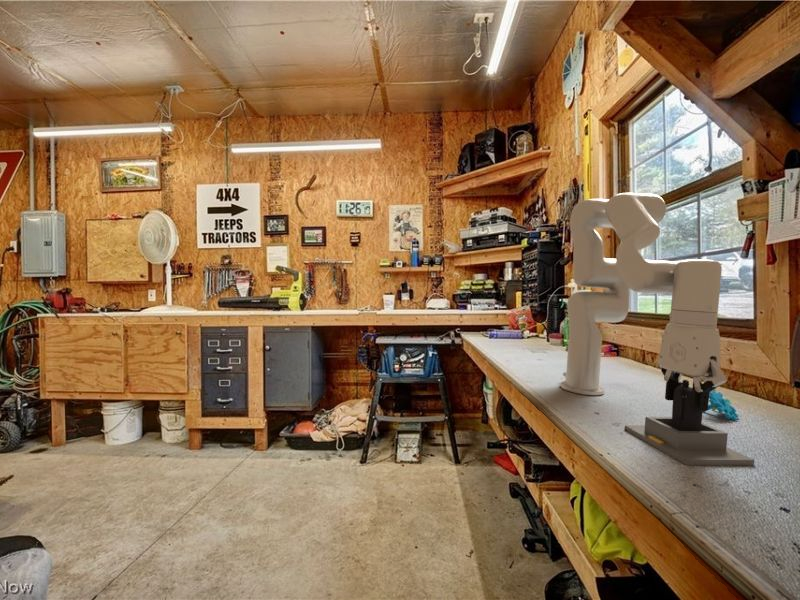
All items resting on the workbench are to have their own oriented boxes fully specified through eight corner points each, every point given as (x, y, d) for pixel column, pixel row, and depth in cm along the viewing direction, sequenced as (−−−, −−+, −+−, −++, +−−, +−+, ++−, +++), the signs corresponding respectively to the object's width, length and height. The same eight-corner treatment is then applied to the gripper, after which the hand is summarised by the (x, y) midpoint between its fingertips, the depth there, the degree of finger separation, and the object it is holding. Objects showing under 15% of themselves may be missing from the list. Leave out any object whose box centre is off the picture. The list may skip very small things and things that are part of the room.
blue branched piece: (731, 418, 88) (700, 382, 94) (707, 428, 92) (680, 393, 98) (748, 418, 93) (719, 384, 99) (726, 427, 97) (698, 394, 103)
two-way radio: (704, 440, 72) (711, 367, 71) (686, 440, 71) (692, 367, 71) (679, 428, 78) (685, 361, 77) (661, 428, 77) (667, 361, 76)
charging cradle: (624, 429, 82) (625, 410, 82) (680, 430, 83) (681, 411, 83) (685, 465, 66) (687, 441, 66) (754, 465, 67) (756, 441, 67)
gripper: (644, 315, 81) (637, 392, 82) (716, 324, 64) (707, 421, 65) (674, 316, 82) (667, 392, 83) (753, 325, 65) (744, 421, 66)
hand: (685, 404), depth 74 cm, fingers closed on two-way radio, 5 cm apart
